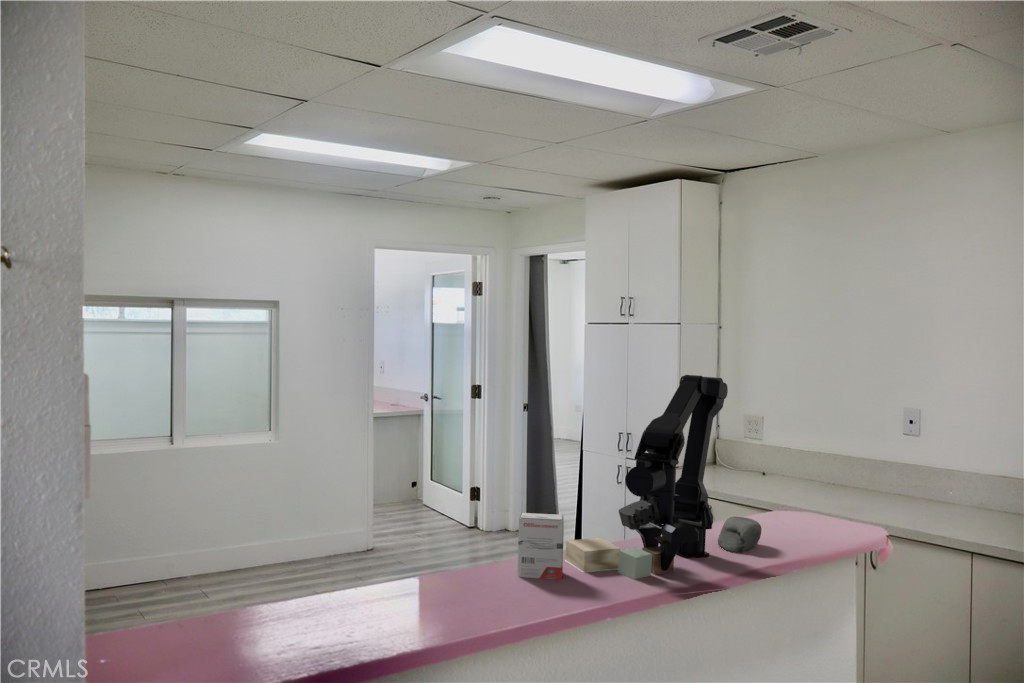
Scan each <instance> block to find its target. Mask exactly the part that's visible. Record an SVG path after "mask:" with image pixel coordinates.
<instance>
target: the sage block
mask: <svg viewBox="0 0 1024 683" xmlns="http://www.w3.org/2000/svg"><path fill="white" fill-rule="evenodd" d="M651 564H652V554H651V553H648V552H646V551H644V550H642V548H639V547H636V546H634V547H628V548H626V549H620V551H619V563H618V569H617V573H618V574H620V575H622V576H625V577H628V578H630V579H632V580H637V579H641V578H645V577H646V578H647V577H651V575H652V573H651Z"/></svg>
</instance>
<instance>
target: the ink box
mask: <svg viewBox="0 0 1024 683" xmlns="http://www.w3.org/2000/svg"><path fill="white" fill-rule="evenodd" d="M564 519H565V517H564V514H556V513H555V514H552V513H551V514H549V513H533V512H532V513H530V512H521V513H520V515H519V518H518V540H517V541H518V544H517V577H519V578H531V579H544V580H558V581H559V580H563V573H564V567H563V566H564V560H563V559H564V527H565V526H564V523H565V521H564Z"/></svg>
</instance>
